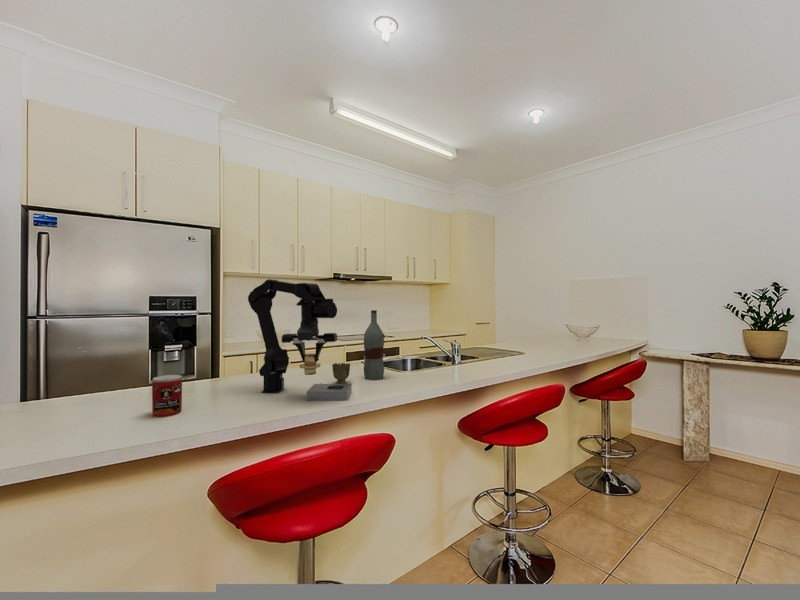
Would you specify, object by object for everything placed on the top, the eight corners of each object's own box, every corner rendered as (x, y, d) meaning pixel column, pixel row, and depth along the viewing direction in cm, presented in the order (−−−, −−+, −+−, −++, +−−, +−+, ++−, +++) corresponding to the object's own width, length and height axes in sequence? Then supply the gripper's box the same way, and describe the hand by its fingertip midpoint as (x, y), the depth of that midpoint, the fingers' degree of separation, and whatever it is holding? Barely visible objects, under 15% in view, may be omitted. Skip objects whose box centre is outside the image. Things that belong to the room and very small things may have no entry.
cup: (348, 385, 151) (348, 365, 152) (330, 385, 152) (330, 365, 152) (351, 381, 159) (351, 362, 159) (334, 381, 159) (334, 362, 159)
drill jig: (306, 400, 128) (306, 391, 128) (314, 391, 140) (314, 383, 140) (347, 400, 128) (347, 391, 128) (351, 391, 140) (351, 383, 140)
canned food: (150, 418, 108) (150, 380, 108) (153, 411, 115) (154, 376, 115) (181, 415, 112) (181, 378, 112) (182, 408, 119) (182, 373, 119)
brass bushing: (297, 375, 130) (297, 355, 130) (302, 372, 137) (302, 353, 137) (318, 375, 130) (317, 355, 130) (322, 371, 137) (322, 352, 137)
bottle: (362, 376, 169) (362, 310, 169) (381, 375, 171) (381, 310, 171) (365, 380, 160) (365, 310, 160) (386, 379, 162) (386, 310, 162)
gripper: (275, 319, 126) (276, 366, 125) (331, 318, 125) (331, 365, 125) (286, 318, 137) (286, 361, 136) (337, 317, 136) (337, 360, 136)
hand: (310, 361), depth 133 cm, fingers closed on brass bushing, 4 cm apart
